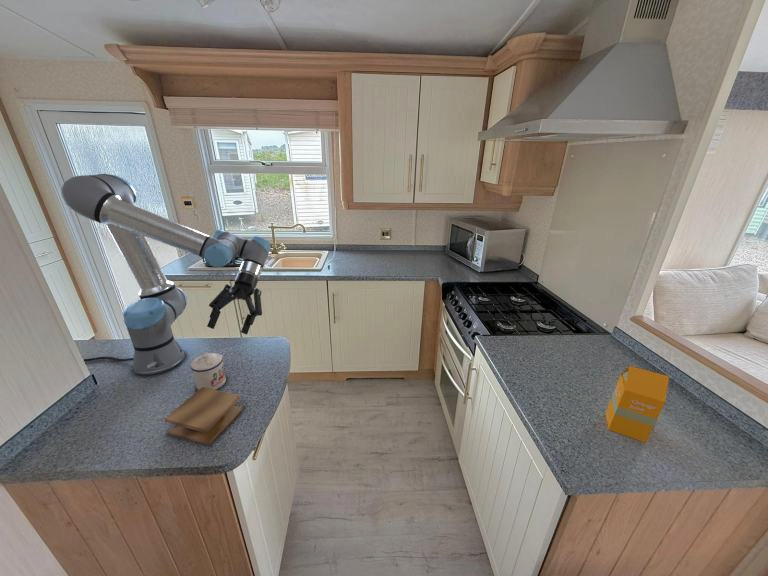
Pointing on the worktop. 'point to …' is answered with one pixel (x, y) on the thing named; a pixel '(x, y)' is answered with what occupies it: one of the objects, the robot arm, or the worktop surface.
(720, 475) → the worktop surface
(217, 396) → the cup stand
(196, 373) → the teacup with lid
